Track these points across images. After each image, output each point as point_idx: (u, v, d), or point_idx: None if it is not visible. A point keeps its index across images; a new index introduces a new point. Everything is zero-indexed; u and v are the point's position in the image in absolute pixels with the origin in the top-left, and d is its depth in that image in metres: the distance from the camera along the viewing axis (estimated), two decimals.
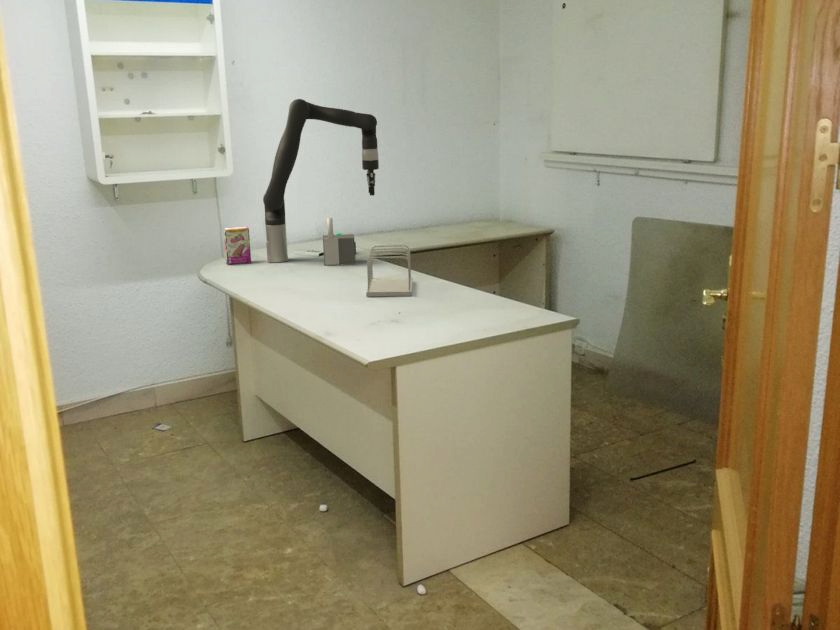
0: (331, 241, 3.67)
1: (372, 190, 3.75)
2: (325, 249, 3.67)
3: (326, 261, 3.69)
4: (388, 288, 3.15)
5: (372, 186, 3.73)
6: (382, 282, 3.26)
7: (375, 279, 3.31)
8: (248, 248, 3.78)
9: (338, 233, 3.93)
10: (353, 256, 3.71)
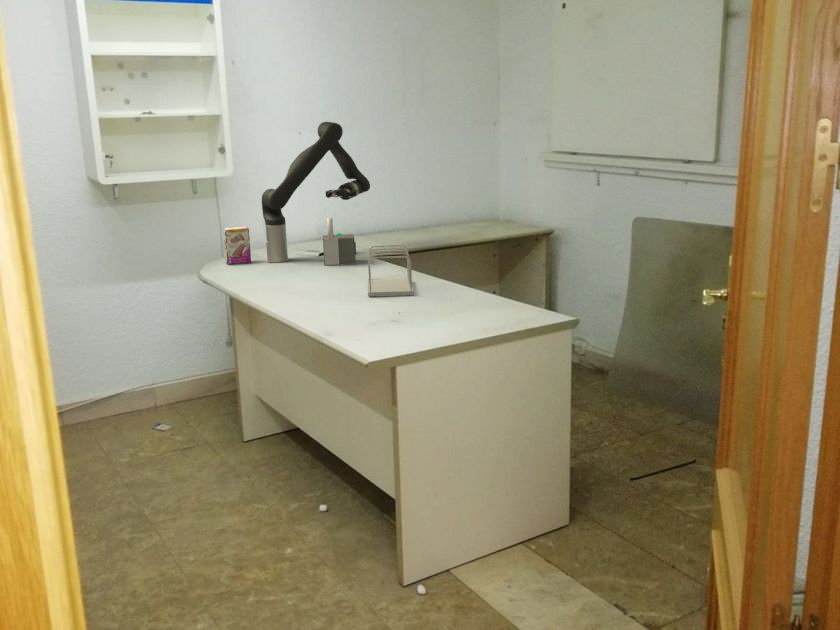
0: (331, 241, 3.67)
1: (349, 195, 3.73)
2: (325, 249, 3.67)
3: (326, 261, 3.69)
4: (389, 288, 3.15)
5: (352, 194, 3.75)
6: (381, 282, 3.25)
7: (373, 279, 3.31)
8: (248, 248, 3.78)
9: (338, 233, 3.93)
10: (353, 256, 3.71)
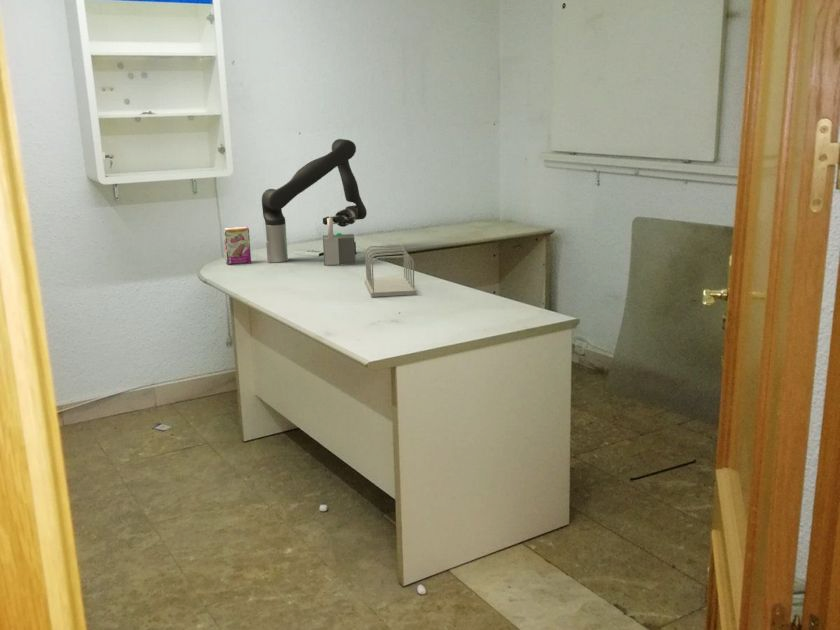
0: (331, 241, 3.67)
1: (346, 222, 3.71)
2: (325, 249, 3.67)
3: (326, 261, 3.69)
4: (390, 288, 3.15)
5: (349, 221, 3.73)
6: (380, 282, 3.25)
7: None
8: (248, 248, 3.78)
9: (338, 233, 3.93)
10: (353, 256, 3.71)
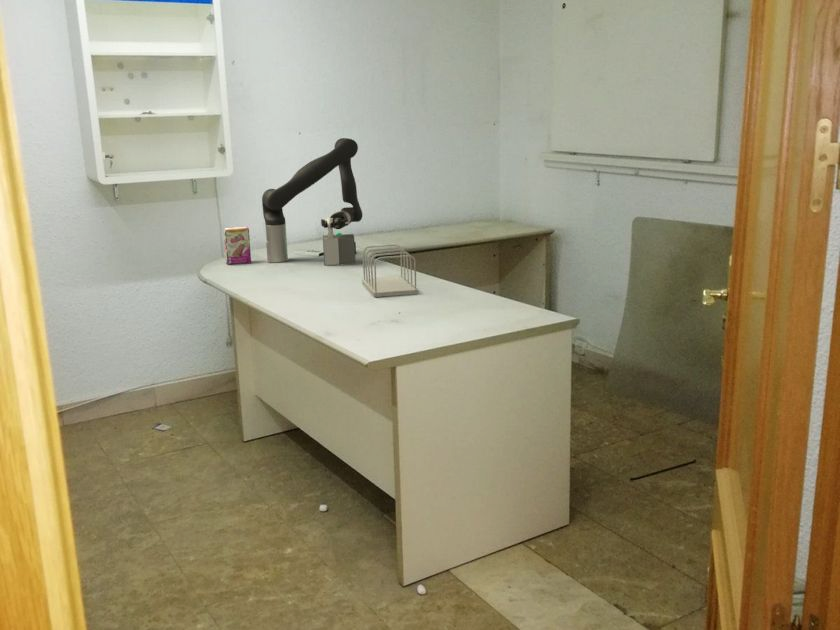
0: (331, 241, 3.67)
1: (334, 225, 3.64)
2: (325, 249, 3.67)
3: (326, 261, 3.69)
4: (391, 288, 3.16)
5: (338, 224, 3.65)
6: (379, 282, 3.25)
7: (368, 280, 3.30)
8: (248, 248, 3.78)
9: (338, 233, 3.94)
10: (353, 256, 3.71)
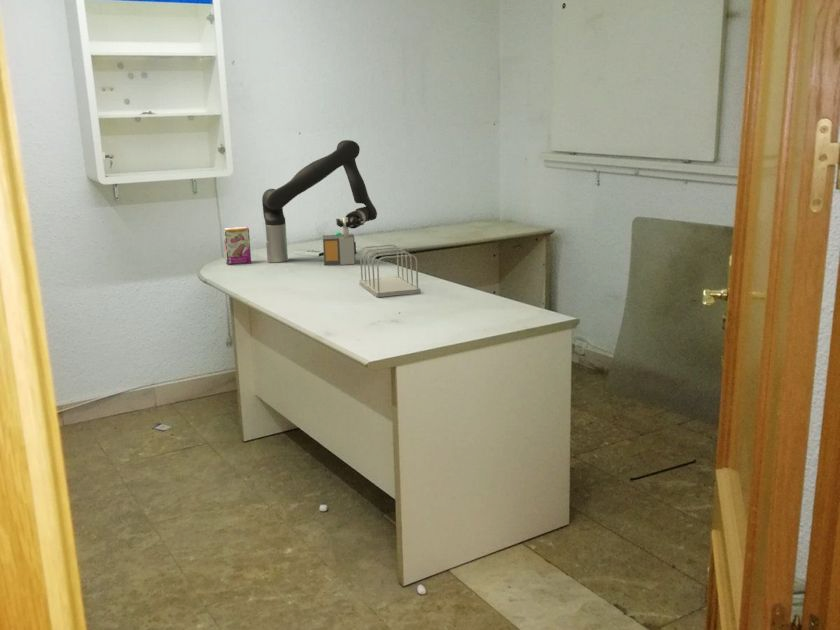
0: (347, 241, 3.67)
1: (350, 224, 3.65)
2: (340, 248, 3.68)
3: (341, 260, 3.70)
4: (393, 287, 3.16)
5: (353, 223, 3.66)
6: (378, 283, 3.25)
7: None
8: (248, 248, 3.78)
9: (338, 233, 3.94)
10: None
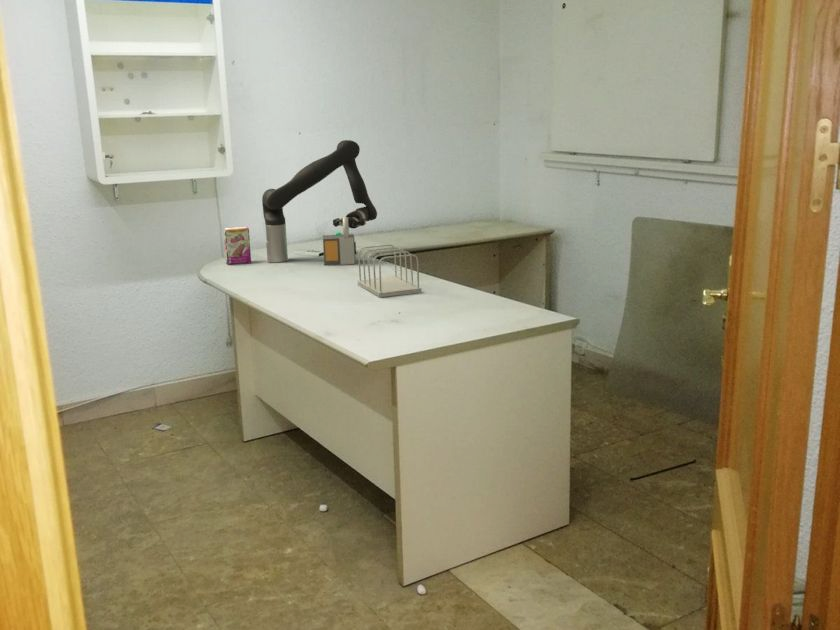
0: (347, 241, 3.67)
1: (357, 224, 3.65)
2: (341, 248, 3.68)
3: (341, 260, 3.70)
4: (393, 287, 3.16)
5: (360, 223, 3.67)
6: (377, 283, 3.25)
7: None
8: (248, 248, 3.78)
9: (338, 232, 3.94)
10: None
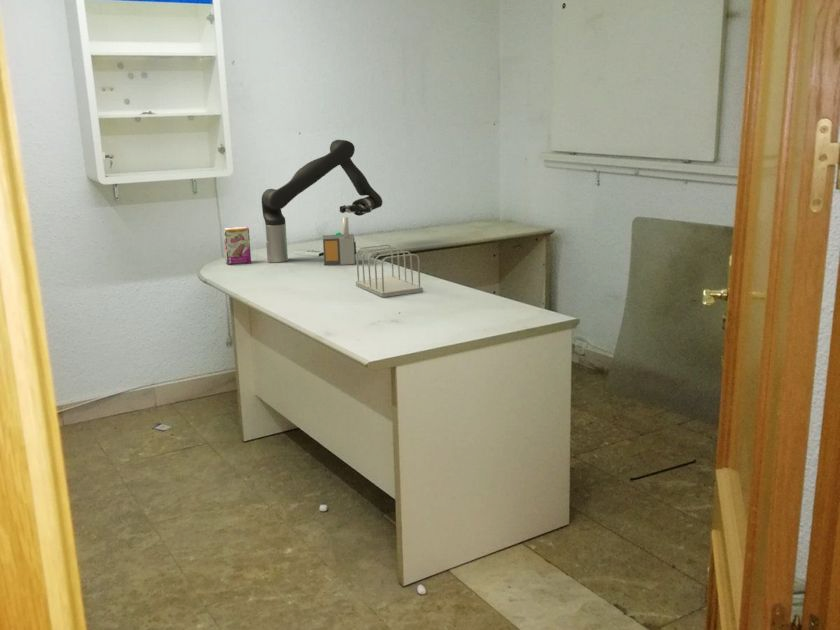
0: (347, 241, 3.67)
1: (363, 210, 3.78)
2: (341, 248, 3.68)
3: (341, 260, 3.70)
4: (394, 287, 3.16)
5: (366, 210, 3.79)
6: (376, 283, 3.24)
7: (362, 281, 3.28)
8: (248, 248, 3.78)
9: (338, 232, 3.95)
10: None
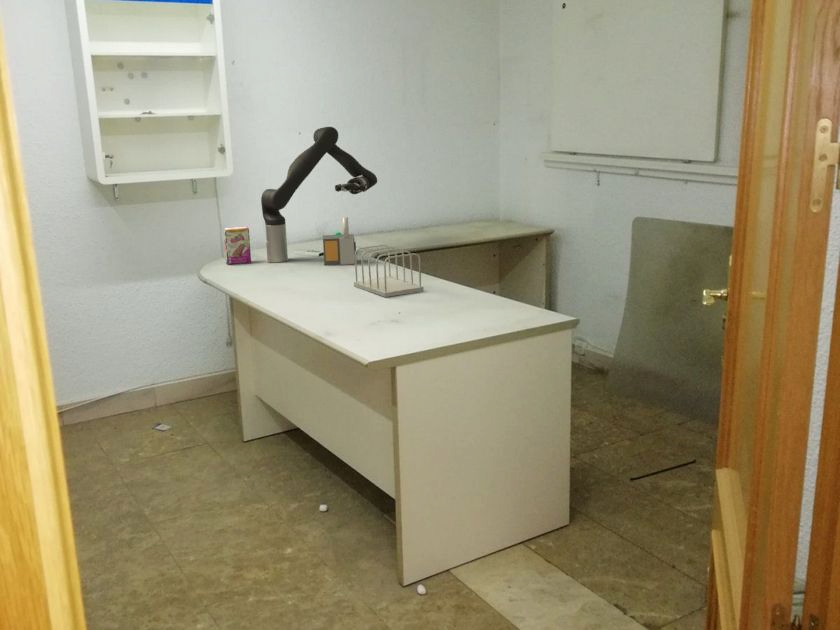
0: (347, 241, 3.67)
1: (358, 189, 3.80)
2: (341, 248, 3.68)
3: (341, 260, 3.70)
4: (395, 287, 3.17)
5: (361, 188, 3.81)
6: (375, 283, 3.24)
7: (361, 282, 3.27)
8: (248, 248, 3.78)
9: (338, 232, 3.95)
10: None
